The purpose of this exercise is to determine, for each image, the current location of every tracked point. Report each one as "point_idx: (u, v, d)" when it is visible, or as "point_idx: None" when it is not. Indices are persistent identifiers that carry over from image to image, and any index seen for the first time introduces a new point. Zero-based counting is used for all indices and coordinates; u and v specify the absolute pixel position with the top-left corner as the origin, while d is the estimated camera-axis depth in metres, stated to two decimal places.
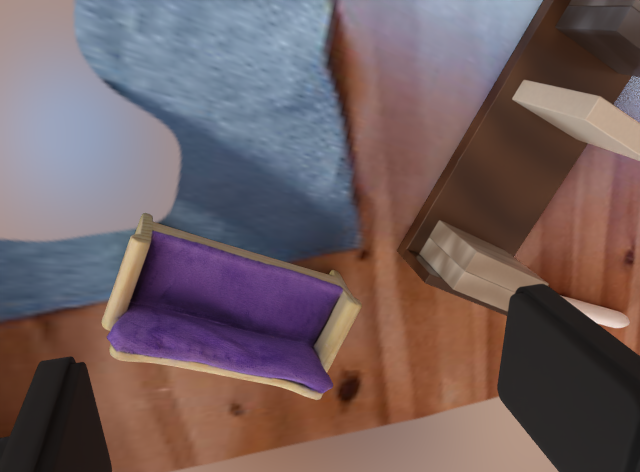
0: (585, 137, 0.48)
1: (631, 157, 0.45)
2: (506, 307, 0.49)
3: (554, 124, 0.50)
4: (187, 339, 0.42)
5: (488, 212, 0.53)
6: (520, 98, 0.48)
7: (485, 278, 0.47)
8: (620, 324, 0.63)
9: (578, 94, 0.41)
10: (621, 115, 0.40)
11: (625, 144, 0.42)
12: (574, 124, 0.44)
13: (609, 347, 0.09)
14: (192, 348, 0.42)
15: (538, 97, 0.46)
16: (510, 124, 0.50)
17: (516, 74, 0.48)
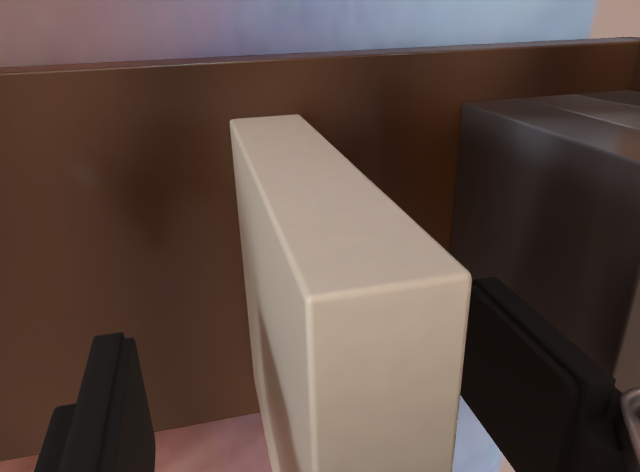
0: (264, 393, 0.14)
1: None
2: None
3: (247, 293, 0.16)
4: None
5: None
6: (244, 126, 0.13)
7: None
8: None
9: (386, 207, 0.08)
10: (436, 455, 0.07)
11: None
12: (268, 315, 0.10)
13: (547, 336, 0.10)
14: None
15: (275, 145, 0.12)
16: (163, 170, 0.15)
17: (299, 81, 0.15)
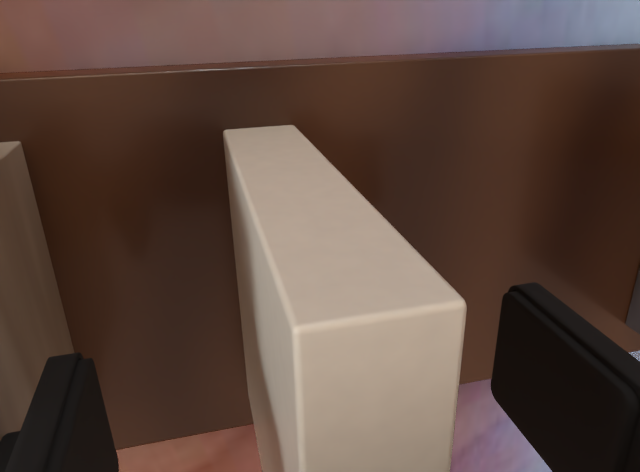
0: (257, 409, 0.14)
1: None
2: None
3: (240, 305, 0.16)
4: None
5: (162, 286, 0.16)
6: (238, 138, 0.13)
7: None
8: None
9: (379, 227, 0.08)
10: None
11: None
12: (259, 334, 0.10)
13: (600, 345, 0.09)
14: None
15: (267, 159, 0.11)
16: (427, 154, 0.16)
17: (552, 73, 0.16)
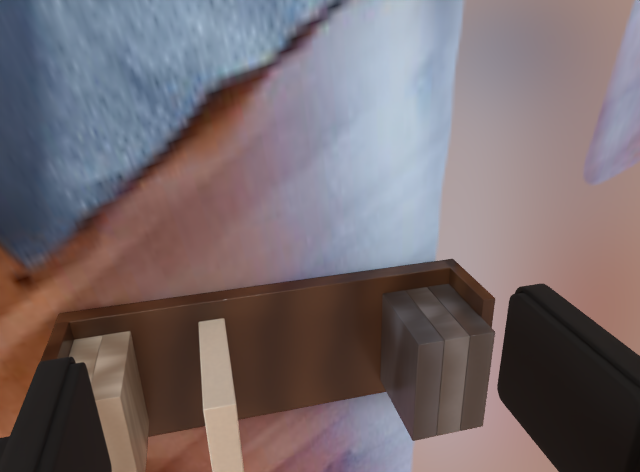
0: None
1: None
2: None
3: None
4: None
5: (176, 373, 0.42)
6: (202, 329, 0.40)
7: None
8: None
9: (229, 381, 0.34)
10: (235, 438, 0.33)
11: (213, 466, 0.34)
12: None
13: (609, 347, 0.09)
14: None
15: (210, 345, 0.38)
16: (276, 322, 0.42)
17: (323, 292, 0.42)
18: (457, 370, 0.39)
